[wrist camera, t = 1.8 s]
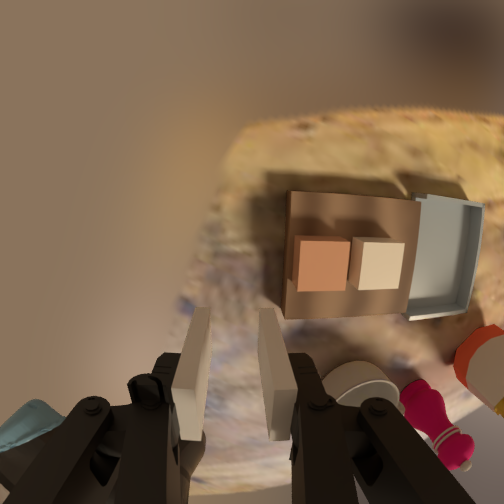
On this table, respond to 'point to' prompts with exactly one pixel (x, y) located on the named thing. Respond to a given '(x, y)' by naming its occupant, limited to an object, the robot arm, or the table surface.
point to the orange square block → (320, 263)
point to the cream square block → (375, 263)
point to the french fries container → (483, 366)
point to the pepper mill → (437, 425)
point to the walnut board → (348, 226)
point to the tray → (445, 256)
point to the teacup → (360, 384)
